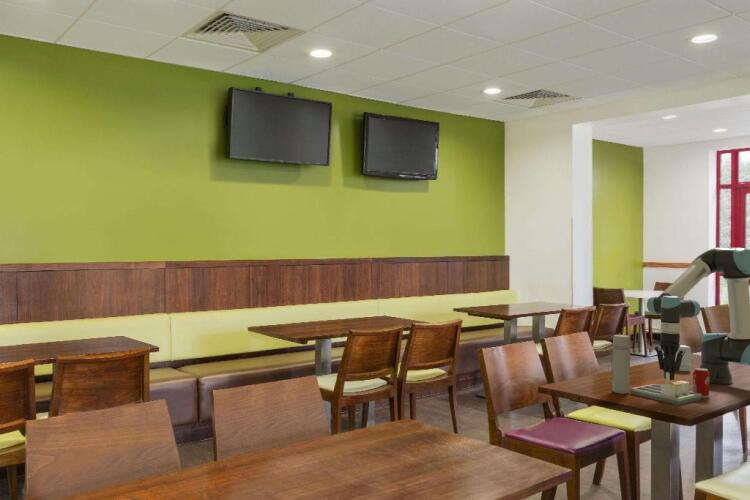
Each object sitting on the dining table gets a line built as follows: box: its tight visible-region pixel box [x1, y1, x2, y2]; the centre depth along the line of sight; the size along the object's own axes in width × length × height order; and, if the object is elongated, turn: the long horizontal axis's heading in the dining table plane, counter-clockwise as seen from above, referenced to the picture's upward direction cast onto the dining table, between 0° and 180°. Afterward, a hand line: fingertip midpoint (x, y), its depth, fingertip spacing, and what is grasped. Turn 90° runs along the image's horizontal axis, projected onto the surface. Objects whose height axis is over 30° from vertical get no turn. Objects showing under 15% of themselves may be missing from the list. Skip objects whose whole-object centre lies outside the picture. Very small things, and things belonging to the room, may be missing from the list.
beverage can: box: [692, 367, 710, 399], centre depth 280 cm, size 6×6×12 cm
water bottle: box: [607, 334, 631, 395], centre depth 287 cm, size 9×8×25 cm
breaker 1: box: [660, 382, 676, 397], centre depth 273 cm, size 4×4×5 cm
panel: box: [630, 383, 702, 406], centre depth 280 cm, size 17×22×2 cm
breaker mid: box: [668, 381, 682, 396], centre depth 276 cm, size 4×4×5 cm
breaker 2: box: [675, 380, 691, 394], centre depth 279 cm, size 4×4×5 cm
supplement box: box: [675, 344, 692, 372], centre depth 339 cm, size 7×7×13 cm
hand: (669, 387), depth 278 cm, fingers closed
